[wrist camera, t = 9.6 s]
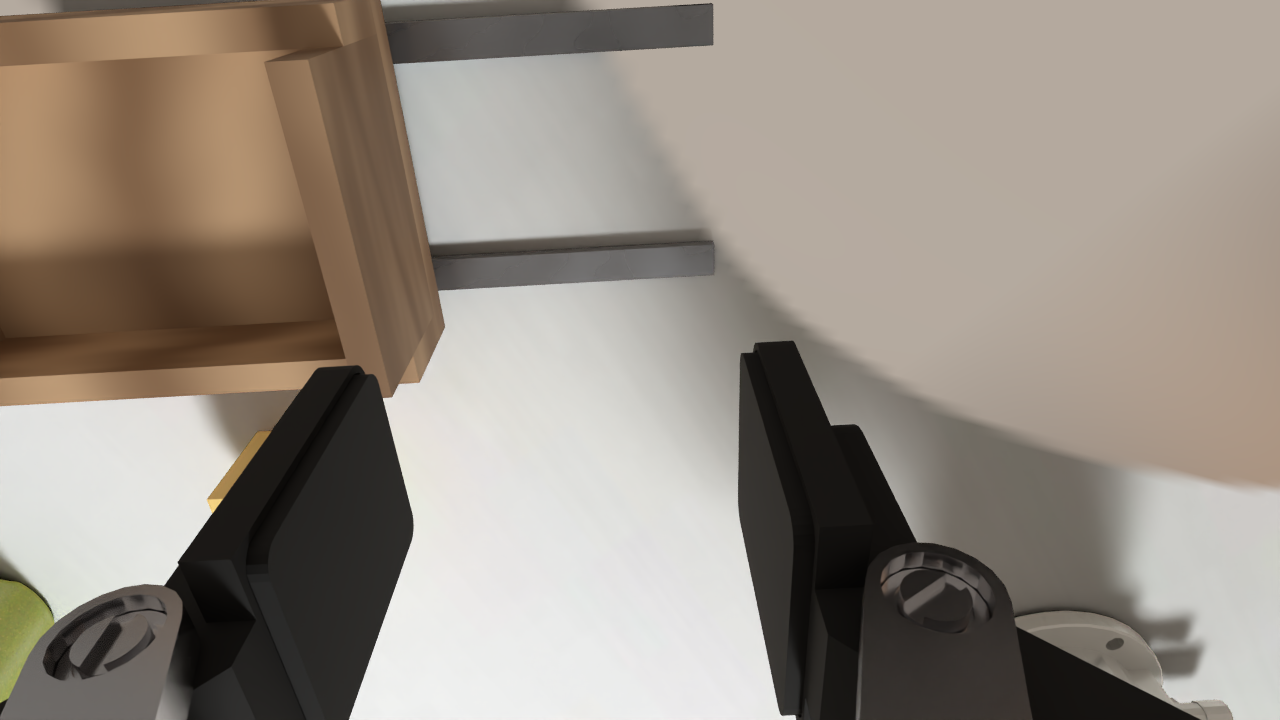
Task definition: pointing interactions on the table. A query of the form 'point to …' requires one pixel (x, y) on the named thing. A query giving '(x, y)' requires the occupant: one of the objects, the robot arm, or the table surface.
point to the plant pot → (19, 630)
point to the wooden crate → (206, 203)
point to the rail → (549, 39)
